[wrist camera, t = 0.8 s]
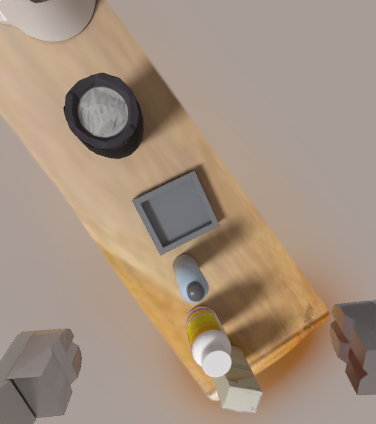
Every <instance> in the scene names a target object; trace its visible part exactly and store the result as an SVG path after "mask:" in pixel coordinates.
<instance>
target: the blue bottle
mask: <svg viewBox="0 0 376 424" xmlns="http://www.w3.org/2000/svg"><path fill="white" fill-rule="evenodd" d="M173 269H174V273H175V276H176V279H177V282H178V286H179V289H180V292H181V295H182V297H183V298H184V299H185V300H186V301H188V302H191V303H196V302H199V301H201V300H203V299H204V298H205V297H206V295H207V293H208V290H209V287H208V283H207V281H206V279H205V278H204V276H203V274H202V272H201V270H200V269H199V267H198V265H197V263H196V261H195V260H194V258H193V257H192V256H190V255H188V254H182V255H179V256H178V257H177V258H176V259H175V260H174V262H173Z"/></svg>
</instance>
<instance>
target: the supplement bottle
mask: <svg viewBox="0 0 376 424" xmlns="http://www.w3.org/2000/svg"><path fill="white" fill-rule="evenodd" d="M185 328H186V332H187V335H188V339H189V343H190V346H191V350H192V354H193V357H194V359H195V361H196V362H197V363H198V364H199V365H200V366H202V367H203V370H204V372H205V373H206V374H207V375H209V376H211V377H220V376H223V375H224V374H226V373H227V372H228V371H229V369H230V367H231V364H232V360H231V357H230V353H231V344H230V341H229V339H228V337H227V335H226V333H225V331H224V329H223V327H222V325H221V323H220V321H219V318H218V317H217V315H216V313H215V312H214V311H213V310H212V309H210V308H208V307H197V308H195V309H193V310H192V311H190V313H189V314H188V315H187V317H186V320H185Z"/></svg>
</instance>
